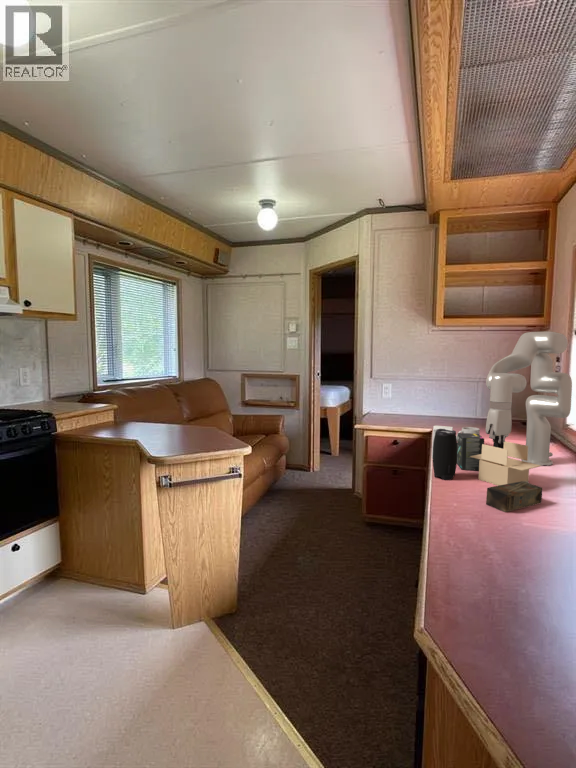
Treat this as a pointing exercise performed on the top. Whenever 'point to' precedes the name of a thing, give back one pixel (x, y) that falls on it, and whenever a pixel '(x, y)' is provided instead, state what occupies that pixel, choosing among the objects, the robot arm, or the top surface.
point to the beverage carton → (513, 496)
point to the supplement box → (435, 431)
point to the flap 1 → (494, 454)
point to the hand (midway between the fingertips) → (498, 452)
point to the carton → (504, 471)
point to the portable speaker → (445, 454)
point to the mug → (469, 430)
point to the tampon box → (469, 450)
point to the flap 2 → (516, 450)
